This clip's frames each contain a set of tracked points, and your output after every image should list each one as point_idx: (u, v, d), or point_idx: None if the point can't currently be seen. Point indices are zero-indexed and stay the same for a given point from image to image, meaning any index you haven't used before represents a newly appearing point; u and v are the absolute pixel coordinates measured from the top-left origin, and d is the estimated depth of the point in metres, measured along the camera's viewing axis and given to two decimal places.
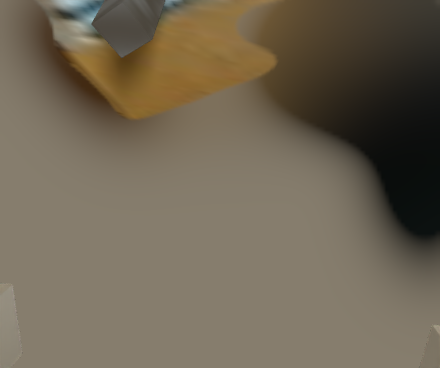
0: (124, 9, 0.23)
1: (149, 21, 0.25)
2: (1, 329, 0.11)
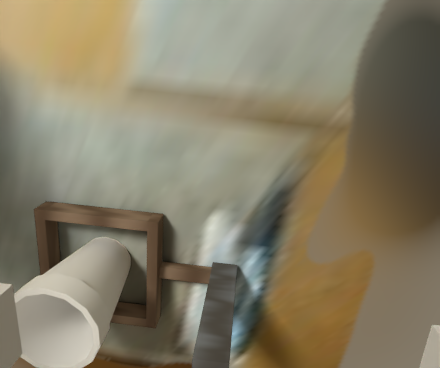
0: (197, 361, 0.28)
1: (222, 349, 0.29)
2: (1, 329, 0.11)
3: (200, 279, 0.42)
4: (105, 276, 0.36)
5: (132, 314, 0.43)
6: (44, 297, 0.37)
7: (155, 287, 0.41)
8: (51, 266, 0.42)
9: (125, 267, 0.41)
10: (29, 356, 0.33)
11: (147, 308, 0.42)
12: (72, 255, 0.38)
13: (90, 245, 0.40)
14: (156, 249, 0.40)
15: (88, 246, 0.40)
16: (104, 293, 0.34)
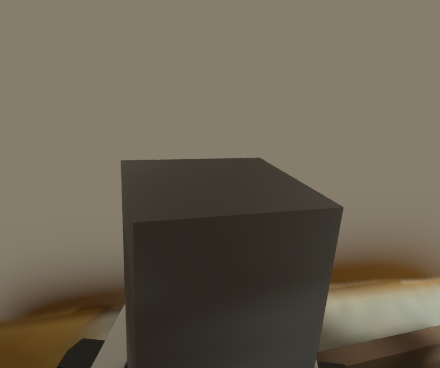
0: (310, 202, 0.05)
1: (185, 311, 0.05)
2: None
3: None
4: None
5: None
6: None
7: None
8: None
9: None
10: None
11: None
12: None
13: None
14: None
15: None
16: None
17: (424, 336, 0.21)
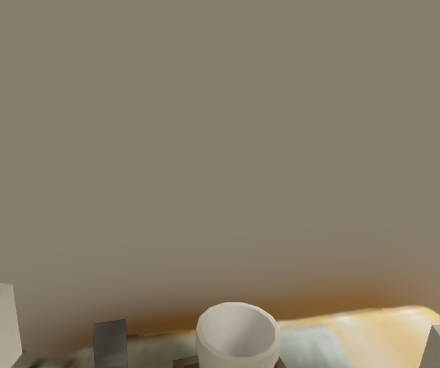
0: (122, 338, 0.33)
1: (101, 356, 0.33)
2: (1, 329, 0.11)
3: None
4: None
5: (197, 365, 0.47)
6: None
7: None
8: None
9: None
10: (248, 308, 0.42)
11: None
12: None
13: None
14: None
15: None
16: None
17: None
